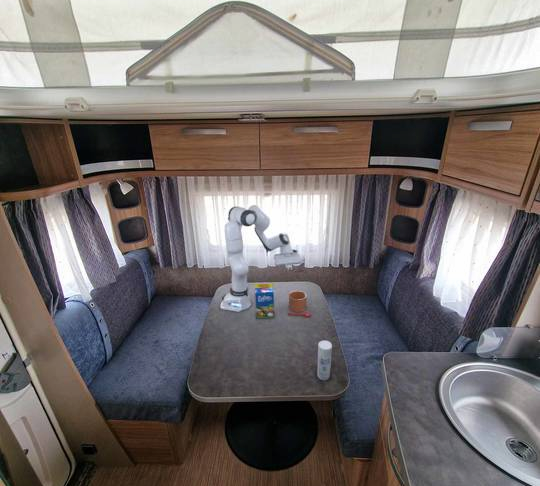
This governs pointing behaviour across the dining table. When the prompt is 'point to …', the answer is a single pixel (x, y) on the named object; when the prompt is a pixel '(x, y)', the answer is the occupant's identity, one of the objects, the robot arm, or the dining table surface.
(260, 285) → the blue food package
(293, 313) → the red spoon
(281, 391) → the dining table surface
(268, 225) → the robot arm
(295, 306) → the copper pot
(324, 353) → the spray can
